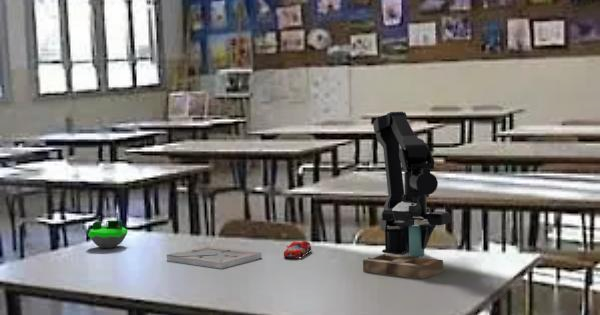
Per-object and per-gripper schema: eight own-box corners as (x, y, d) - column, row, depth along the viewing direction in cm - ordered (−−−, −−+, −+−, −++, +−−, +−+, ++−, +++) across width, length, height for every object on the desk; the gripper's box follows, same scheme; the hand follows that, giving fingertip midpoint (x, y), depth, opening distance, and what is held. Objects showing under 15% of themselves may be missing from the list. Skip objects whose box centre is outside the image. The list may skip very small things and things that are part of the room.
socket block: (363, 271, 247) (362, 258, 247) (384, 264, 255) (384, 252, 255) (422, 278, 236) (422, 265, 236) (443, 271, 244) (442, 258, 243)
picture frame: (166, 263, 271) (221, 271, 257) (166, 254, 270) (221, 262, 257) (207, 253, 283) (262, 260, 270) (207, 245, 283) (261, 251, 269)
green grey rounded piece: (131, 244, 300) (130, 209, 299) (121, 250, 288) (120, 214, 287) (94, 244, 301) (93, 210, 300) (82, 250, 289) (81, 215, 289)
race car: (299, 261, 265) (298, 246, 265) (281, 260, 267) (280, 246, 267) (314, 251, 278) (313, 238, 277) (296, 251, 279) (296, 237, 279)
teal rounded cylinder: (406, 256, 254) (405, 226, 253) (414, 253, 257) (413, 224, 256) (419, 257, 251) (418, 228, 251) (427, 255, 254) (426, 225, 254)
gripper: (369, 192, 252) (370, 249, 254) (429, 196, 240) (431, 256, 242) (392, 187, 261) (393, 243, 262) (452, 190, 249) (453, 249, 250)
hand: (416, 248), depth 254 cm, fingers closed on teal rounded cylinder, 4 cm apart
